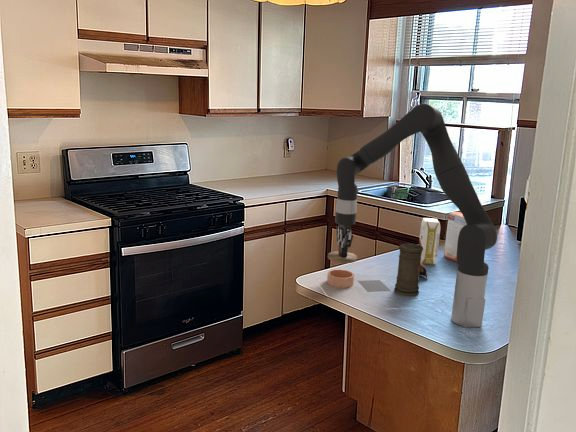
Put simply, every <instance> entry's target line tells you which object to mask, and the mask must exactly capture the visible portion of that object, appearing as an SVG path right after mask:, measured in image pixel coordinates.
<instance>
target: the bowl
mask: <svg viewBox="0 0 576 432" xmlns="http://www.w3.org/2000/svg"><path fill="white" fill-rule="evenodd" d="M326 278H327V279H326V282H327V284H328V285H330V286H331V287H335V288H340V289H341V288H345V289H346V288H351V287H353V286H354V283H355V274H354V272H353V271H351V270H348V269H341V268H340V269H339V268H336V269H331V270H329V271H328V272H327V275H326Z"/></svg>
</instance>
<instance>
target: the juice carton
mask: <svg viewBox="0 0 576 432" xmlns="http://www.w3.org/2000/svg"><path fill="white" fill-rule="evenodd" d="M440 234H441V223H440V221H439V220H438V218H432V217H431V218H430V217H422V221H421V223H420V231H419V238H418V239H419V240H418V245H420V246H422V247H423V251H422V253H421V261H420V263H421V264H423V265H432V266H433V265H436V263H437V259H438V252H439V251H438V250H439V246H440V245H439V242H440V237H441V235H440Z"/></svg>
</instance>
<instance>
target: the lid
mask: <svg viewBox="0 0 576 432" xmlns="http://www.w3.org/2000/svg"><path fill="white" fill-rule="evenodd" d="M341 246H342V245H340V250H339V249H338V250H339V254H338V251H331V252H328V254H327V258H328V260H330V261H331V262H335V263H340V264H352V263H355V262H357V260H358V256H357V254H355V253H353V252H348V251H347V257H341Z"/></svg>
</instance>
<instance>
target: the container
mask: <svg viewBox="0 0 576 432" xmlns="http://www.w3.org/2000/svg"><path fill="white" fill-rule="evenodd" d="M398 248H399V255H398V267H397V268H398V269H397V275H396V283H395V285H394V288H393V289H394V293H396V294H397V295H400V296H401V297H402V296H403V297H417V296H418V295H419V294H420V290H419V289H420V287H419V282H420V277H419V270H420V261H421V253H422V251H423V247H422V246H420V245H419V243H418V244H417V243H412V242H403V243H400V244H399V247H398Z"/></svg>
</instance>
